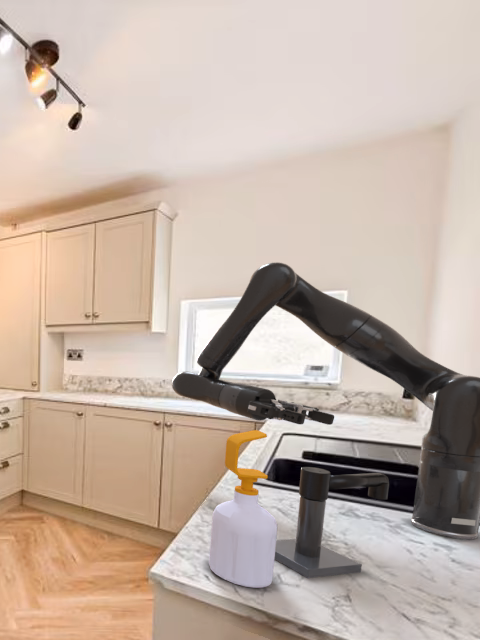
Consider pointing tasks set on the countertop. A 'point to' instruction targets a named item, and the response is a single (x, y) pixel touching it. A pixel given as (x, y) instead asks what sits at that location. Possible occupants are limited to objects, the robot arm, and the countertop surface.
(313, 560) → the faucet base
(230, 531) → the soap bottle
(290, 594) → the countertop surface
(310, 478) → the spout
